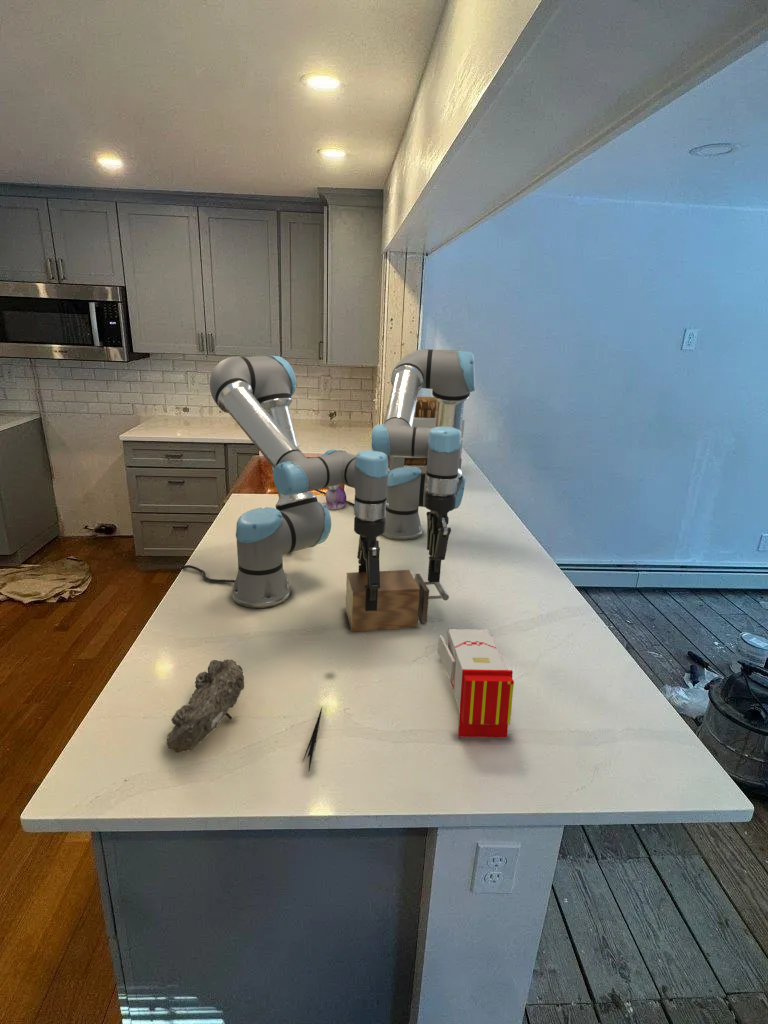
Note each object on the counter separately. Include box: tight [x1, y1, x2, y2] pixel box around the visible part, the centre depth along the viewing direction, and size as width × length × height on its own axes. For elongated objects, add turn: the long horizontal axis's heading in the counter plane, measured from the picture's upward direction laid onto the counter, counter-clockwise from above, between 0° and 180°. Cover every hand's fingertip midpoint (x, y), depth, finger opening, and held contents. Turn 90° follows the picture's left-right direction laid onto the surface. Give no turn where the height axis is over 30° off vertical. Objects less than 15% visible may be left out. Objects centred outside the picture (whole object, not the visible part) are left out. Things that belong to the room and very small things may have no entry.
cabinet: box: [345, 569, 419, 633], centre depth 143 cm, size 16×11×11 cm, turn 101°
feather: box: [301, 673, 332, 771], centre depth 108 cm, size 2×28×2 cm
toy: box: [437, 628, 515, 738], centre depth 117 cm, size 12×13×30 cm
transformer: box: [386, 395, 465, 472], centre depth 268 cm, size 34×33×41 cm
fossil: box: [166, 658, 245, 754], centre depth 106 cm, size 22×10×15 cm
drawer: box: [414, 573, 450, 623], centre depth 144 cm, size 21×9×9 cm, turn 102°
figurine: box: [325, 484, 347, 510], centre depth 222 cm, size 9×10×15 cm
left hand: (367, 598), depth 142 cm, fingers closed on cabinet, 11 cm apart
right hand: (433, 580), depth 144 cm, fingers closed
